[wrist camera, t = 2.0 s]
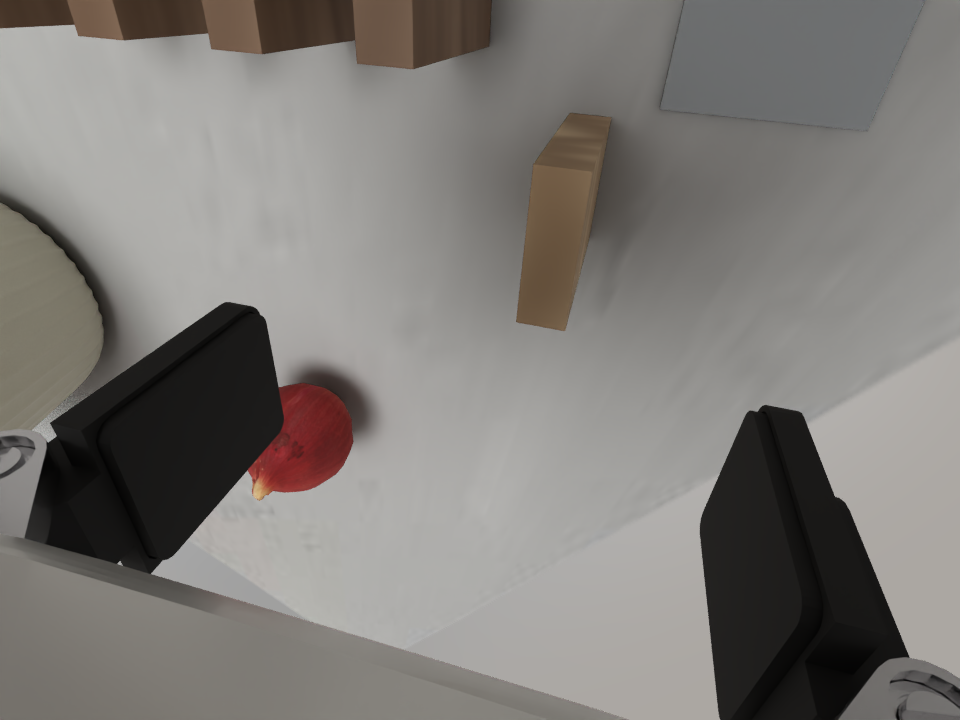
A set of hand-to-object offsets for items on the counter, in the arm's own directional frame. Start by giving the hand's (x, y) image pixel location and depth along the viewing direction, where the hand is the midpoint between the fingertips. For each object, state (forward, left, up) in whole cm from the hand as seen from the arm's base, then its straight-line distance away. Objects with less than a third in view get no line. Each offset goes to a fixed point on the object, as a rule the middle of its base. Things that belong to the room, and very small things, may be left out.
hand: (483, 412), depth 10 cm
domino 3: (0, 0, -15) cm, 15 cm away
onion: (+13, +15, -15) cm, 25 cm away
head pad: (-6, -7, -15) cm, 18 cm away
